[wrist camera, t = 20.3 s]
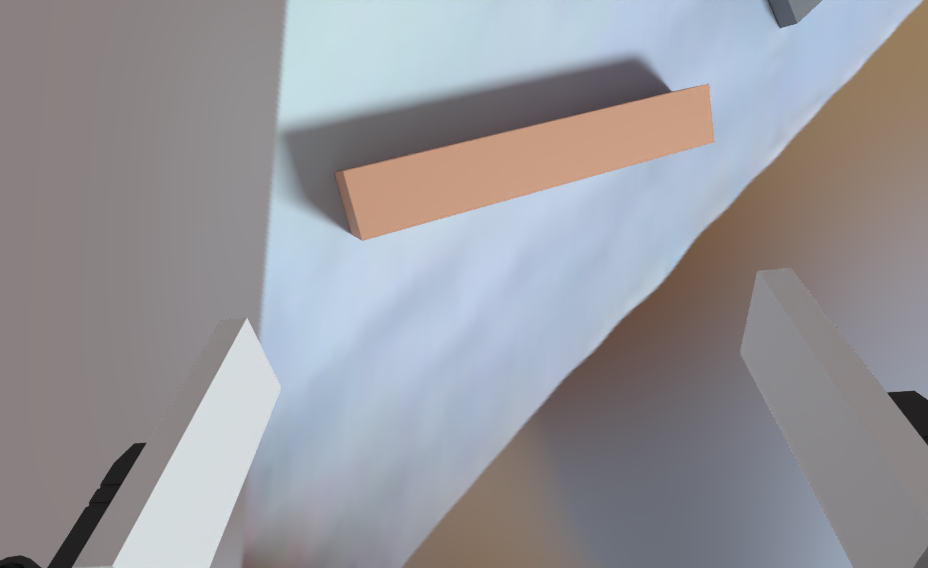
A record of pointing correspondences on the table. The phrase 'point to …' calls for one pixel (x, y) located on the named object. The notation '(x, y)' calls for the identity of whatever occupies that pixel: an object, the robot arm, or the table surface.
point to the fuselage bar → (521, 161)
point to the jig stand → (792, 10)
